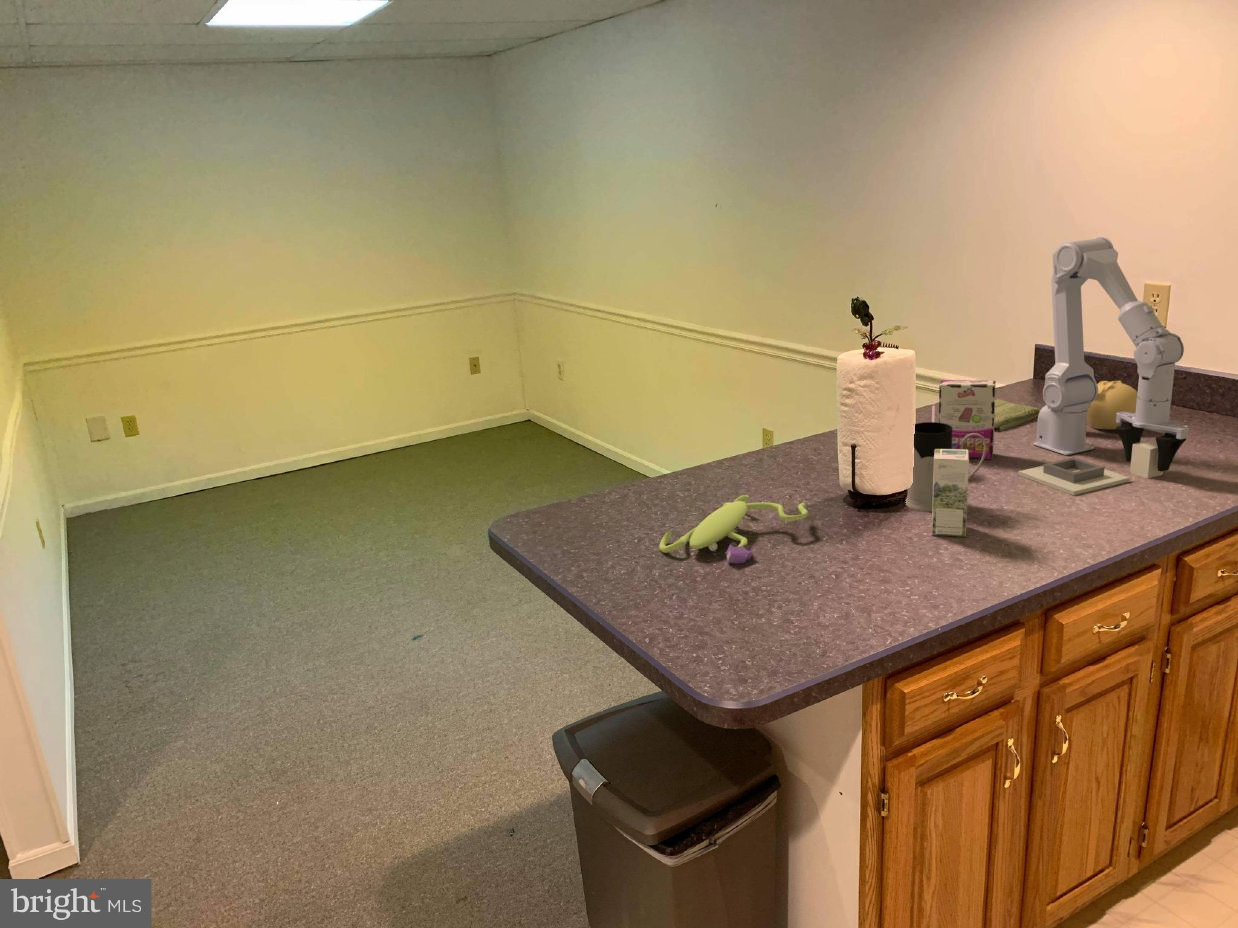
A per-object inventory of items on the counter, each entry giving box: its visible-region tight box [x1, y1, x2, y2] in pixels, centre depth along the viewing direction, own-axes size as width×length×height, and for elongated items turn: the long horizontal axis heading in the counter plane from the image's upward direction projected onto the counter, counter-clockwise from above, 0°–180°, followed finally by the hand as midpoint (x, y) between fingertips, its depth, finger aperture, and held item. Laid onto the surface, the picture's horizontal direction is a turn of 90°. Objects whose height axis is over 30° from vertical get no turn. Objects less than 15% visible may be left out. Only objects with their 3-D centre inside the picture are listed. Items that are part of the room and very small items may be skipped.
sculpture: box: [1087, 380, 1138, 431], centre depth 211 cm, size 11×12×11 cm
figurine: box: [658, 494, 809, 564], centre depth 168 cm, size 18×27×6 cm
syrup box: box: [931, 449, 970, 538], centre depth 163 cm, size 6×6×14 cm
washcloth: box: [994, 398, 1041, 432], centre depth 225 cm, size 13×18×3 cm
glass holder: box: [904, 421, 987, 513], centre depth 175 cm, size 9×14×15 cm, turn 78°
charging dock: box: [1017, 456, 1131, 496], centre depth 184 cm, size 14×14×3 cm
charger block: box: [1129, 440, 1164, 479], centre depth 183 cm, size 4×4×6 cm
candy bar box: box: [938, 379, 996, 460], centre depth 200 cm, size 11×5×16 cm, turn 68°
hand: (1147, 465), depth 183 cm, fingers open, 7 cm apart
